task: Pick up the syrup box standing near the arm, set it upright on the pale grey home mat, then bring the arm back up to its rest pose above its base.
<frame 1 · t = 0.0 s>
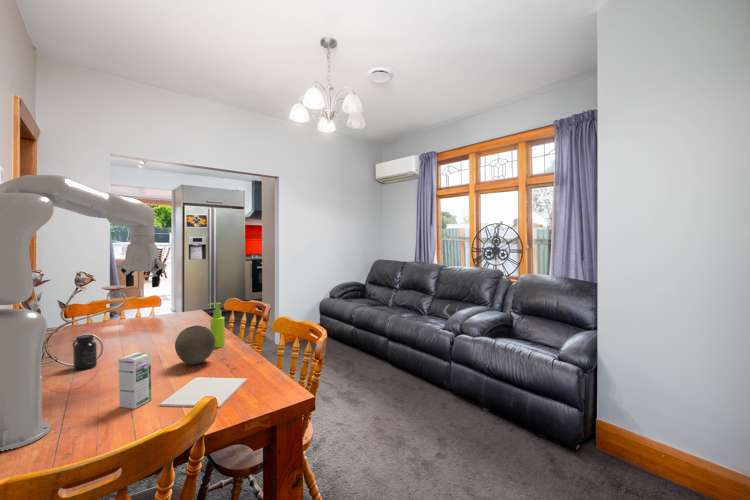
hand: (142, 286, 129), 31 cm above the table, tool pointing down, fingers open, 9 cm apart
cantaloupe: (195, 364, 136), on the table
supplement bottle: (85, 368, 132), on the table
home mat: (207, 391, 112), on the table
syrup box: (135, 404, 104), on the table
soap dispenser: (216, 346, 160), on the table
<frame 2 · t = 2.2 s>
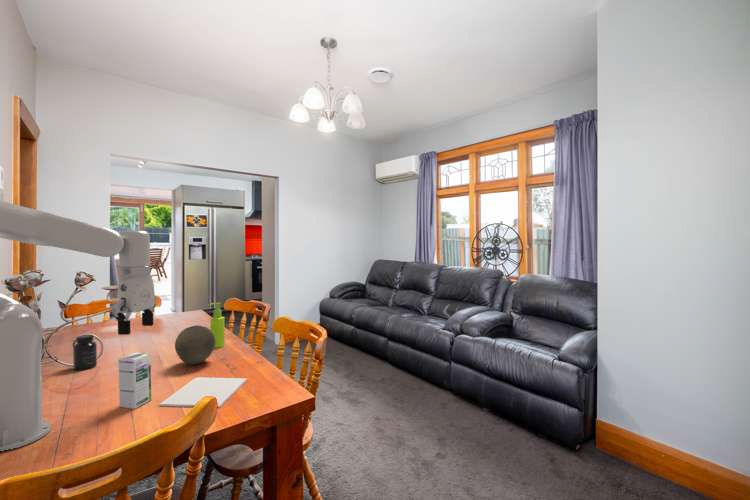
hand: (136, 329, 103), 22 cm above the table, tool pointing down, fingers open, 9 cm apart
nothing on the table moved.
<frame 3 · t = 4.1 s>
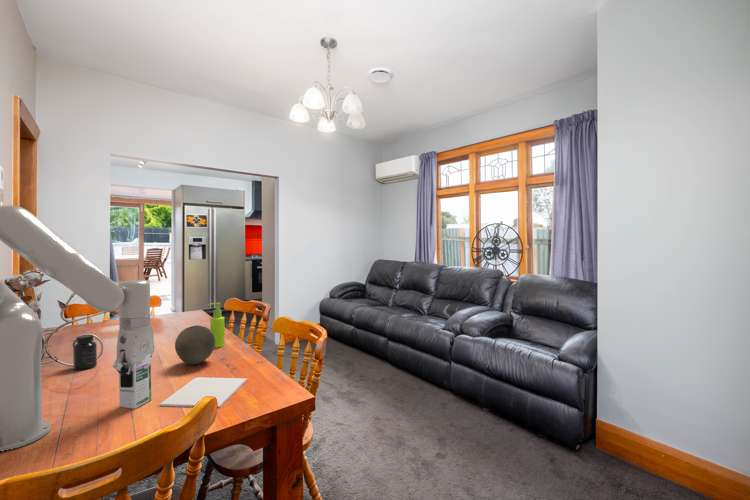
hand: (135, 381, 103), 7 cm above the table, tool pointing down, fingers closed on syrup box, 6 cm apart
syrup box: (135, 404, 104), on the table, touching gripper
everything else where it was.
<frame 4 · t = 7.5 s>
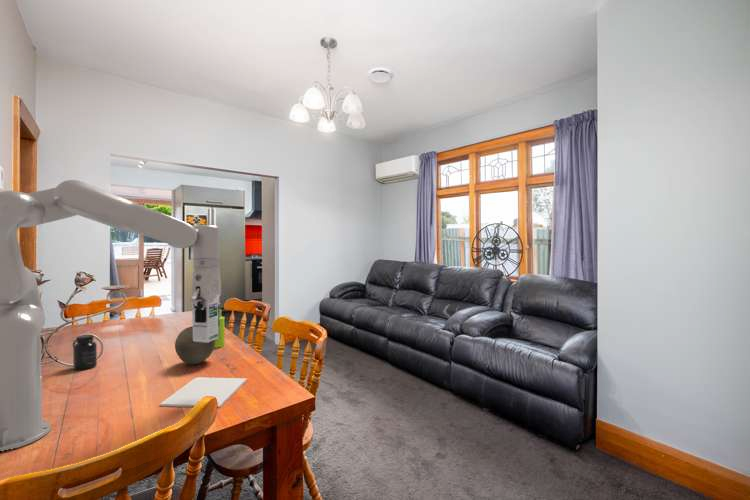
hand: (206, 319, 111), 24 cm above the table, tool pointing down, fingers closed on syrup box, 6 cm apart
syrup box: (206, 340, 111), point 17 cm above the table, touching gripper
everything else where it was.
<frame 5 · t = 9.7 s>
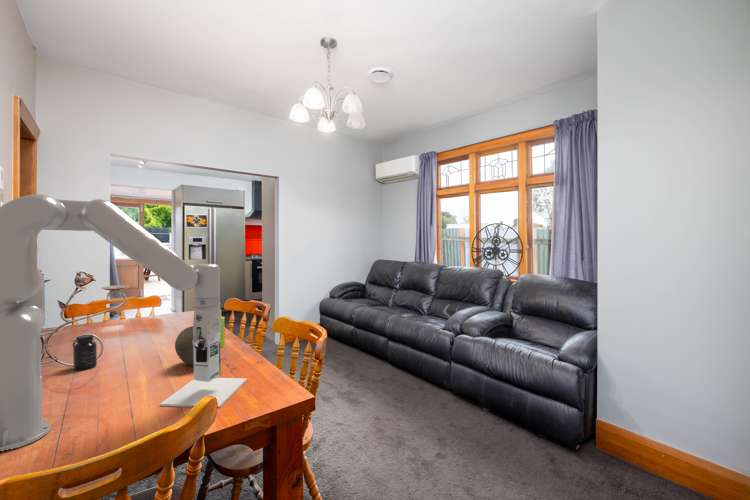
hand: (207, 357, 112), 11 cm above the table, tool pointing down, fingers closed on syrup box, 6 cm apart
syrup box: (207, 378, 112), point 4 cm above the table, touching gripper
everything else where it was.
when the fingers open (8 cm above the table, at t = 11.2 s): syrup box drops 1 cm, resting on home mat.
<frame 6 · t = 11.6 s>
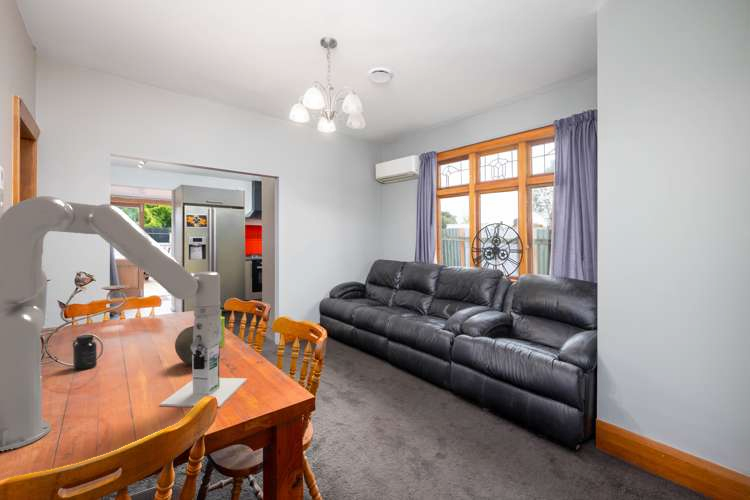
hand: (207, 363, 112), 9 cm above the table, tool pointing down, fingers open, 9 cm apart
syrup box: (206, 391, 112), resting on home mat
everything else where it was.
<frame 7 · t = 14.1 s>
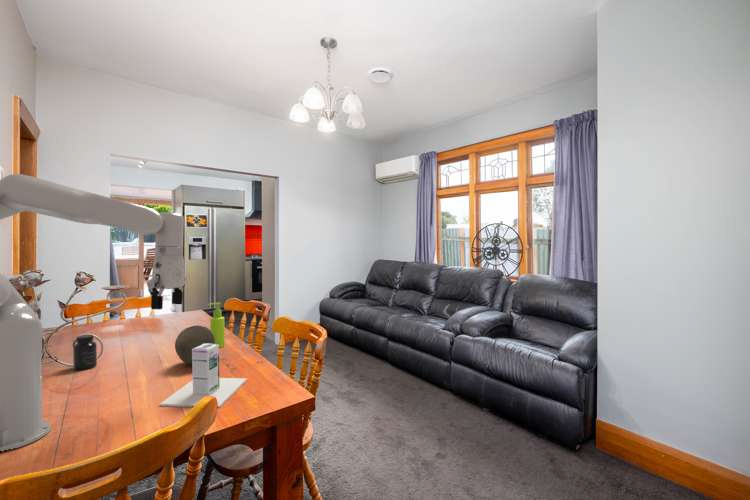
hand: (167, 306, 109), 28 cm above the table, tool pointing down, fingers open, 9 cm apart
nothing on the table moved.
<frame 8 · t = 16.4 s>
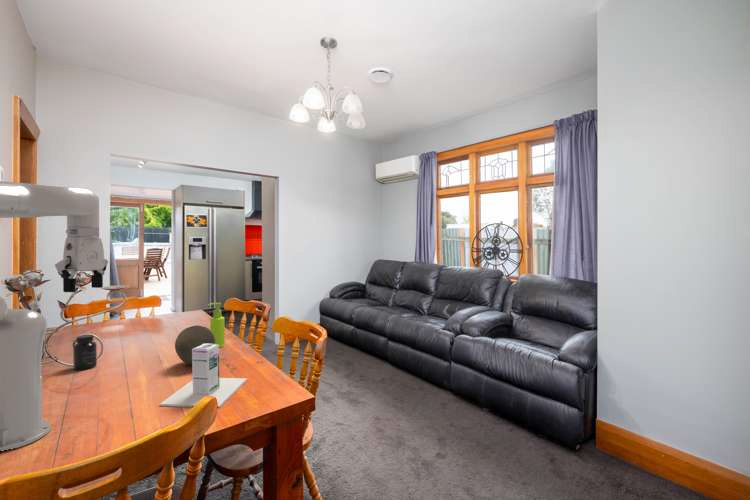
hand: (84, 289, 106), 33 cm above the table, tool pointing down, fingers open, 9 cm apart
nothing on the table moved.
at the end: syrup box inside the target area on the home mat (0.4 cm from its centre), point 0.4 cm above the home mat's base; syrup box tilted 0°; the gripper is holding nothing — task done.
